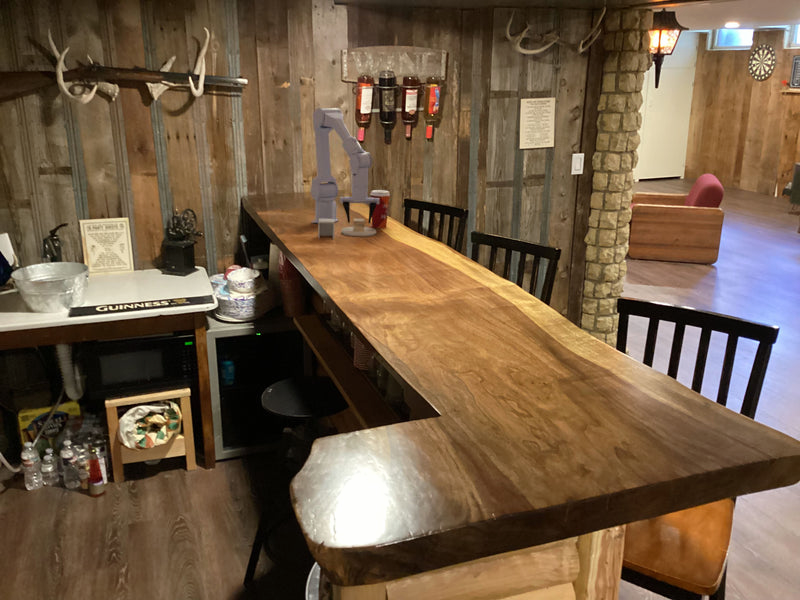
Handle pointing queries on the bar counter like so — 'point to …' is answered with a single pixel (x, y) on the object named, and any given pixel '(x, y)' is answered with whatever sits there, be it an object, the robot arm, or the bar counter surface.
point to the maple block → (358, 225)
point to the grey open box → (326, 227)
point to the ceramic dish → (358, 232)
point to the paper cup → (380, 208)
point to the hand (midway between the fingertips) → (359, 222)
